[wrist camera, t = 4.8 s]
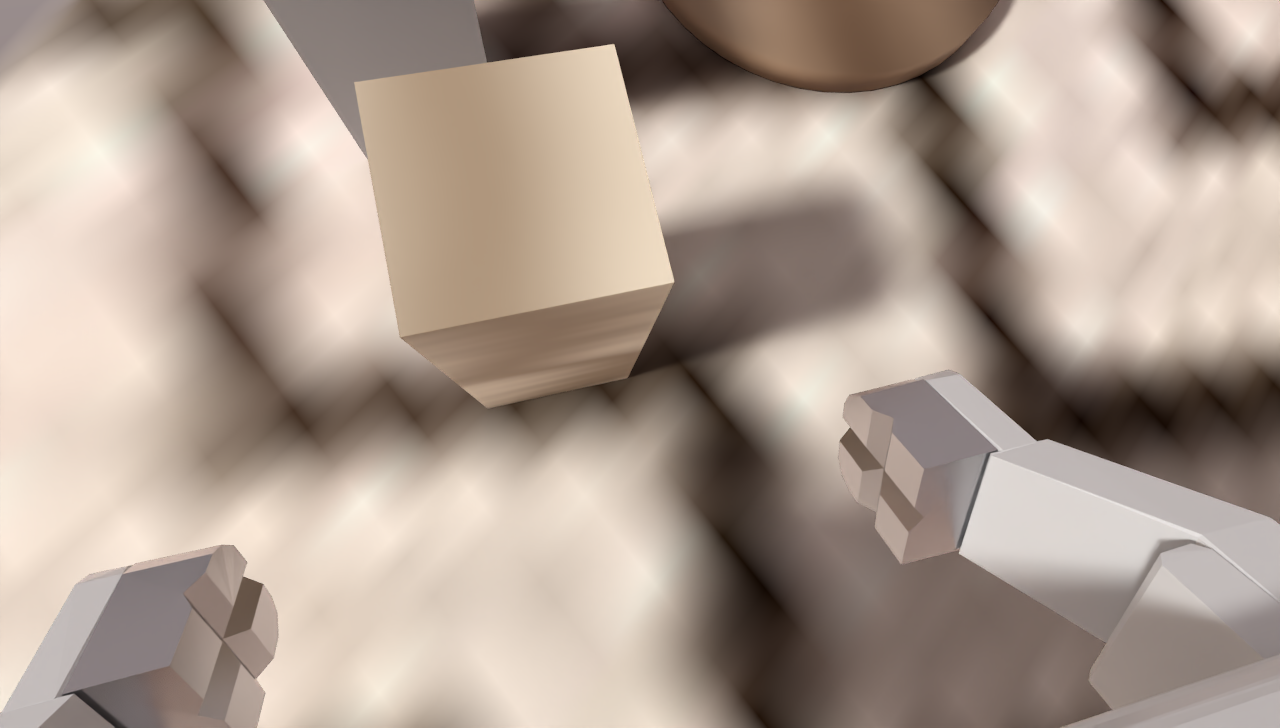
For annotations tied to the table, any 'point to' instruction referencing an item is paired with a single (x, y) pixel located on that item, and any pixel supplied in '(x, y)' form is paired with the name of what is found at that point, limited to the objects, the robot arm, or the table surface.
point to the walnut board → (833, 37)
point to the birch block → (517, 221)
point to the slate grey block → (377, 43)
